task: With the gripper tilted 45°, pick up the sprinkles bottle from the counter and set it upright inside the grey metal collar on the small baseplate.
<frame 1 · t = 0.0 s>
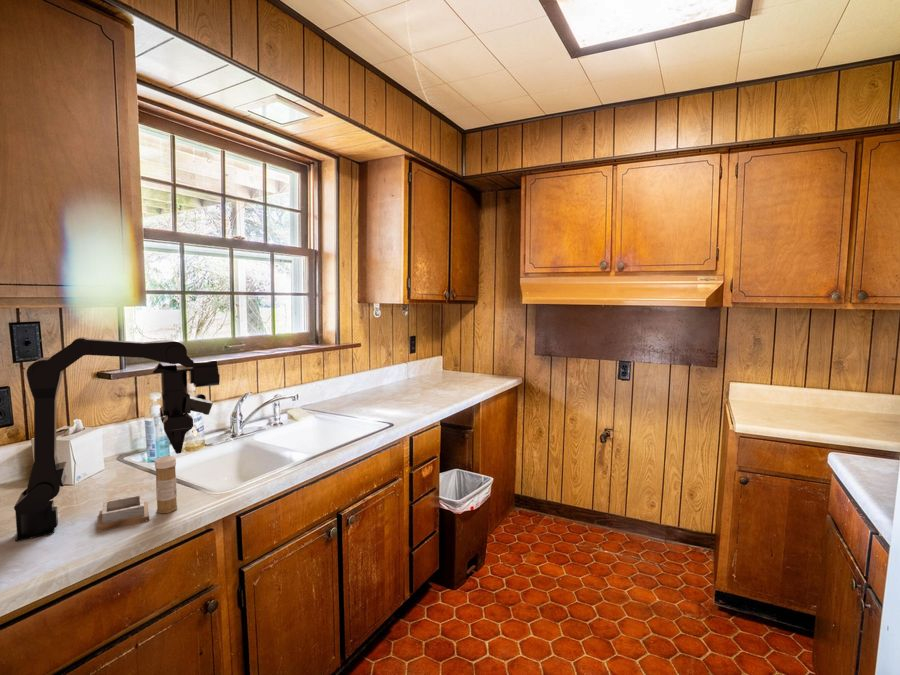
hand: (177, 448, 123), 15 cm above the worktop, tool pointing down, fingers open, 9 cm apart
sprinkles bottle: (167, 510, 120), on the worktop
baseplate: (124, 517, 116), on the worktop
collar: (123, 508, 116), on the baseplate, point 2 cm above the worktop
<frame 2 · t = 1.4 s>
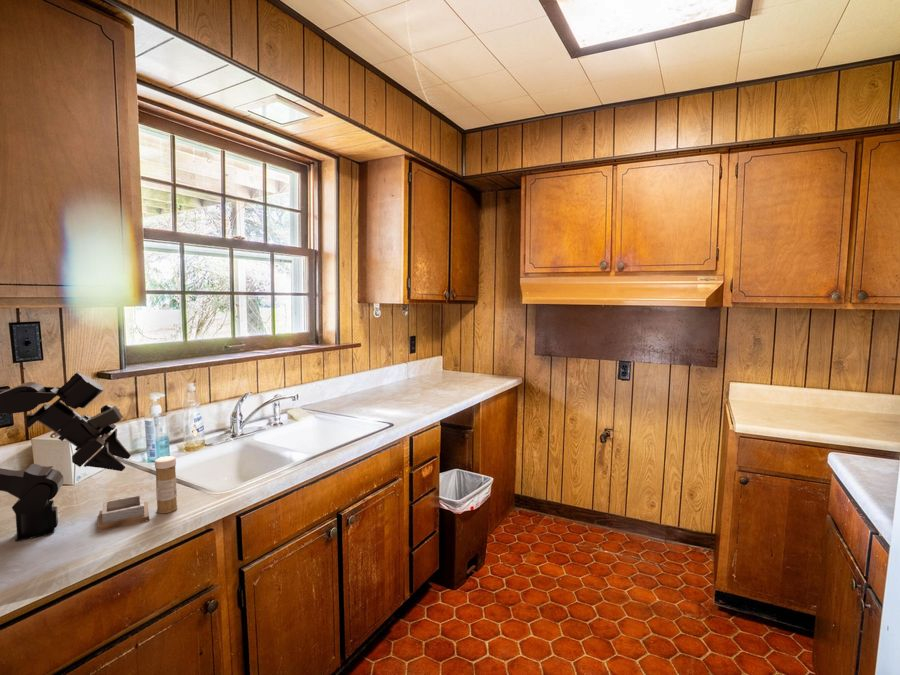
hand: (126, 463, 115), 13 cm above the worktop, tool tilted 45°, fingers open, 9 cm apart
nothing on the worktop moved.
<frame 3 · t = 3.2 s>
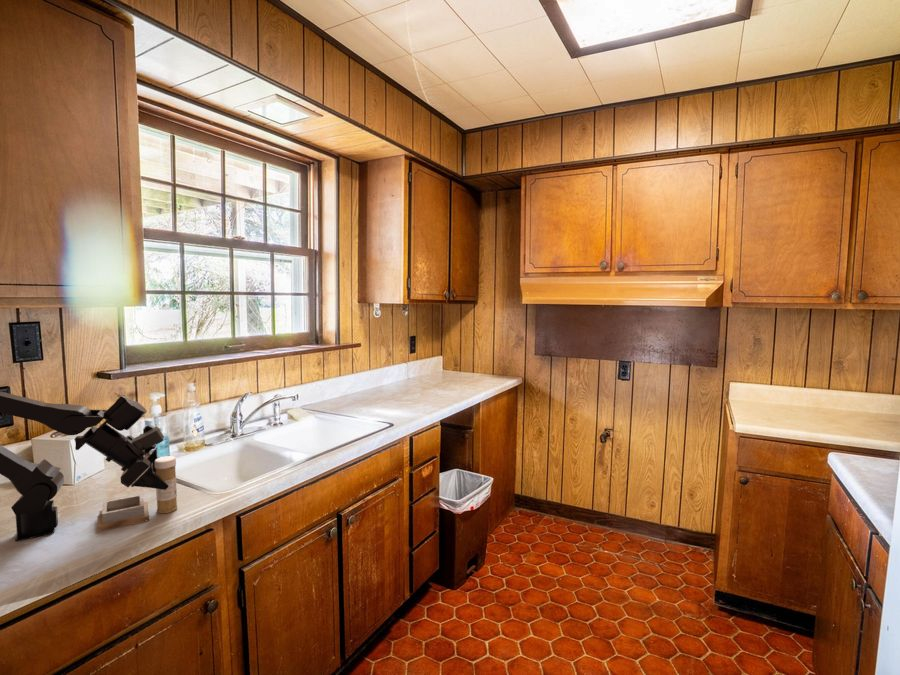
hand: (168, 481, 120), 7 cm above the worktop, tool tilted 45°, fingers open, 9 cm apart
nothing on the worktop moved.
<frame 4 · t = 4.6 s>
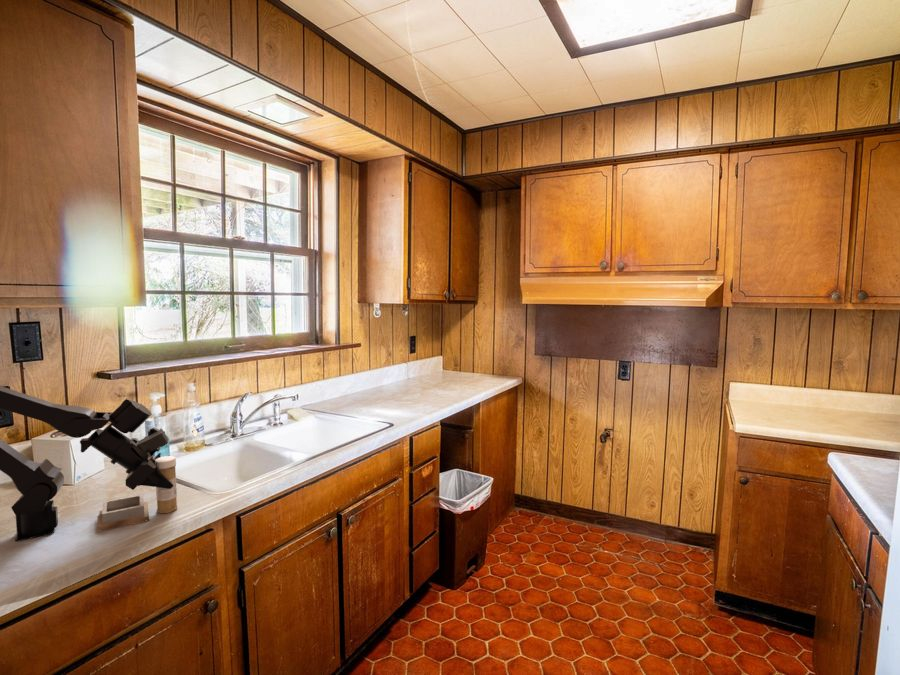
hand: (172, 483, 120), 7 cm above the worktop, tool tilted 45°, fingers closed on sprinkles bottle, 4 cm apart
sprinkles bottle: (167, 510, 120), on the worktop, touching gripper
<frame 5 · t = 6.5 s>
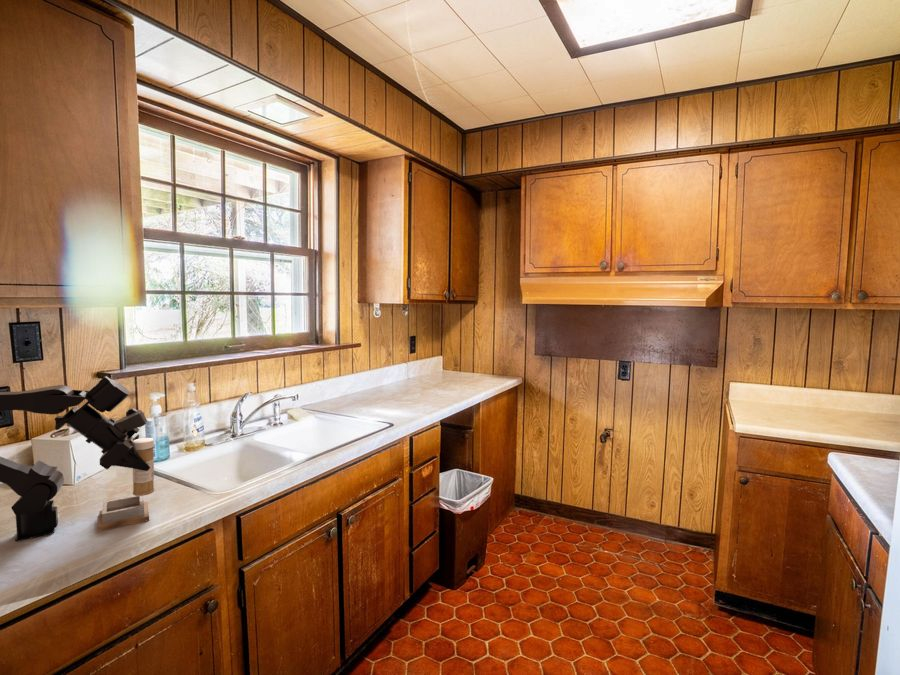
hand: (149, 466, 118), 12 cm above the worktop, tool tilted 45°, fingers closed on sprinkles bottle, 4 cm apart
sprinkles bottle: (143, 493, 117), point 5 cm above the worktop, touching gripper
when the fingers open (9 cm above the worktop, at t = 8.5 s): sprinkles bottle stays where it is, resting on baseplate.
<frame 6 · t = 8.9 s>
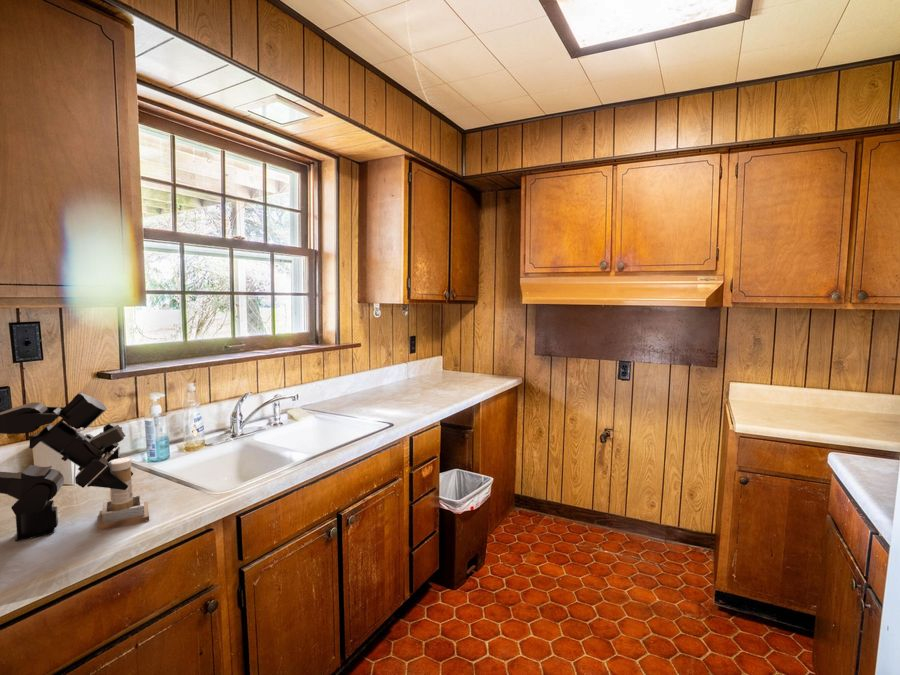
hand: (129, 481, 116), 9 cm above the worktop, tool tilted 45°, fingers open, 8 cm apart
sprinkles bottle: (123, 514, 116), point 1 cm above the worktop, touching baseplate
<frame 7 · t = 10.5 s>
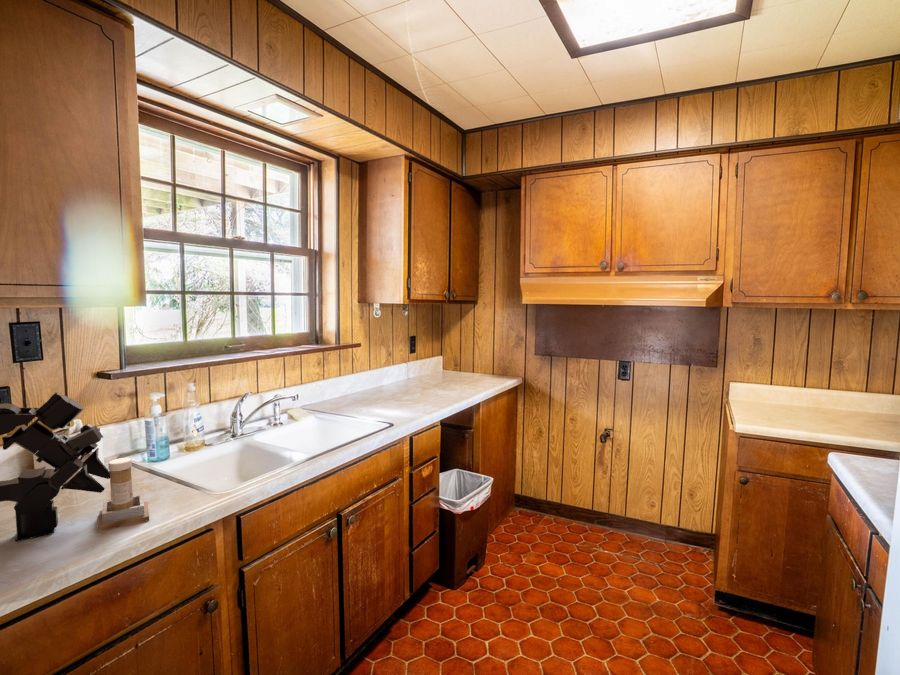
hand: (107, 483, 114), 9 cm above the worktop, tool tilted 45°, fingers open, 9 cm apart
nothing on the worktop moved.
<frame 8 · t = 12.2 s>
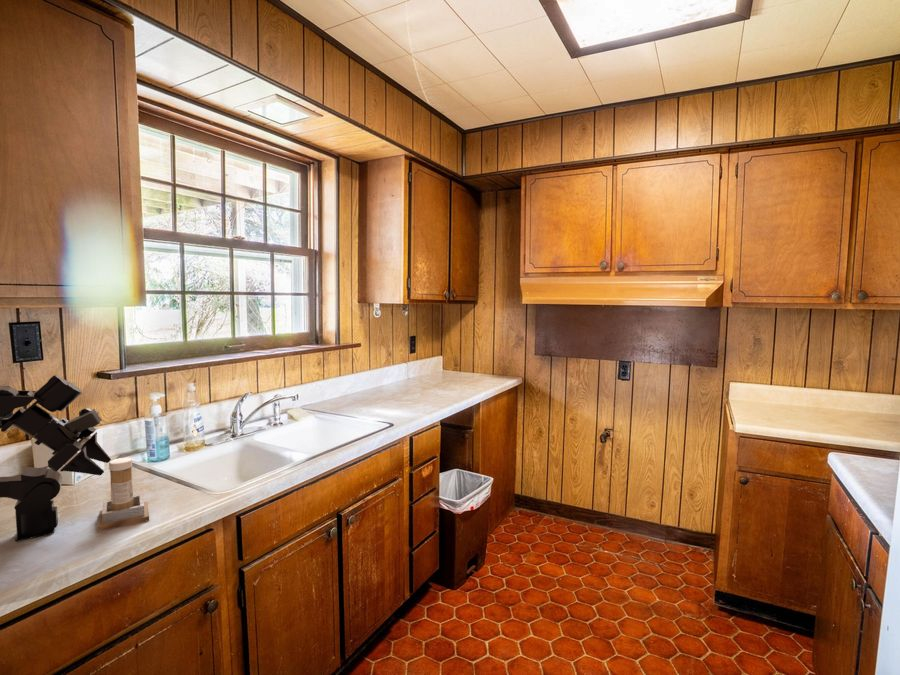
hand: (106, 467, 113), 13 cm above the worktop, tool tilted 45°, fingers open, 9 cm apart
nothing on the worktop moved.
at the end: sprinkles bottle 0.3 cm off-centre on the baseplate, point 0.8 cm above the baseplate's base; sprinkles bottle tilted 0°; the gripper is holding nothing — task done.
